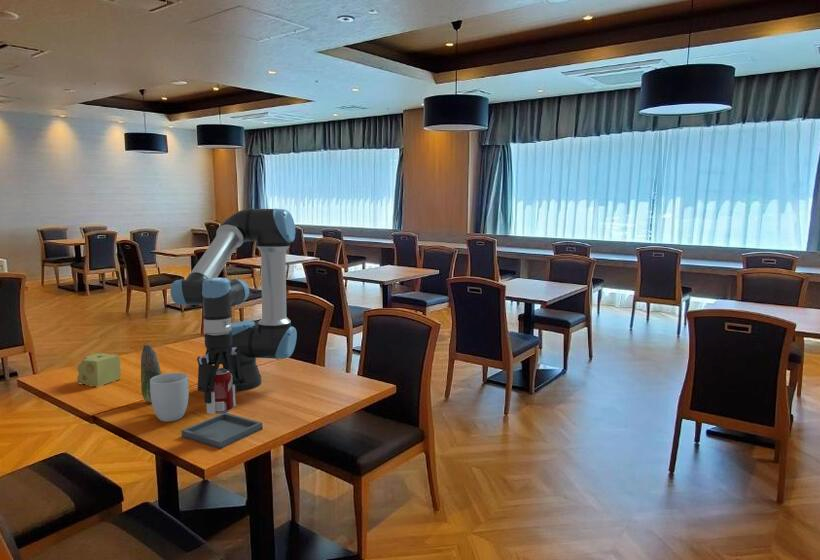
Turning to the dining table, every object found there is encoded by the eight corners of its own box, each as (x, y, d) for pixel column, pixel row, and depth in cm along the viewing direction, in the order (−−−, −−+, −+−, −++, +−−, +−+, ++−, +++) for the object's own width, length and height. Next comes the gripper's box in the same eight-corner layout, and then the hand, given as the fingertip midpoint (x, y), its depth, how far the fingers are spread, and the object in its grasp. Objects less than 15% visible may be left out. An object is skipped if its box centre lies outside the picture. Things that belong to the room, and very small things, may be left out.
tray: (181, 436, 163) (181, 430, 162) (225, 418, 176) (224, 412, 176) (220, 449, 155) (219, 442, 154) (262, 429, 168) (262, 422, 168)
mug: (140, 415, 179) (137, 375, 177) (173, 406, 187) (171, 367, 185) (162, 427, 169) (160, 386, 167) (196, 417, 178) (194, 377, 176)
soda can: (226, 415, 161) (224, 375, 159) (204, 413, 162) (202, 373, 160) (237, 407, 167) (236, 368, 165) (217, 405, 168) (215, 366, 167)
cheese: (77, 384, 208) (75, 358, 207) (102, 376, 218) (101, 351, 217) (97, 388, 204) (95, 361, 203) (122, 379, 214) (120, 354, 213)
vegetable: (142, 399, 193) (138, 342, 190) (162, 397, 195) (159, 341, 192) (142, 405, 187) (138, 347, 184) (162, 403, 190) (158, 345, 187)
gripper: (198, 340, 151) (202, 422, 154) (253, 327, 168) (255, 401, 171) (180, 337, 155) (184, 417, 158) (235, 324, 172) (238, 397, 175)
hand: (221, 409), depth 164 cm, fingers closed on soda can, 7 cm apart
